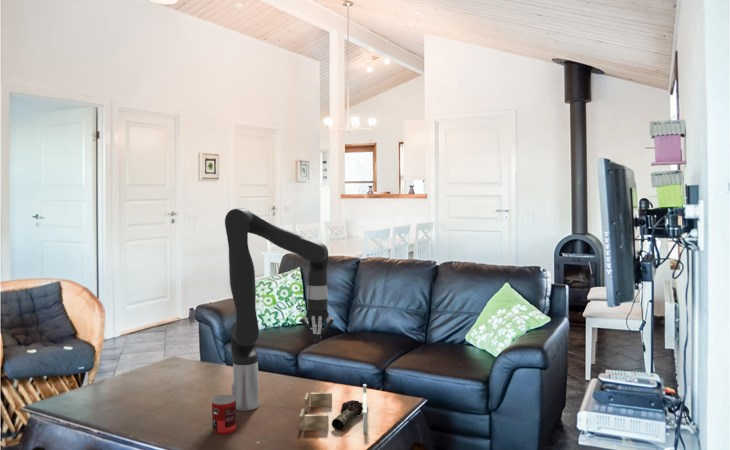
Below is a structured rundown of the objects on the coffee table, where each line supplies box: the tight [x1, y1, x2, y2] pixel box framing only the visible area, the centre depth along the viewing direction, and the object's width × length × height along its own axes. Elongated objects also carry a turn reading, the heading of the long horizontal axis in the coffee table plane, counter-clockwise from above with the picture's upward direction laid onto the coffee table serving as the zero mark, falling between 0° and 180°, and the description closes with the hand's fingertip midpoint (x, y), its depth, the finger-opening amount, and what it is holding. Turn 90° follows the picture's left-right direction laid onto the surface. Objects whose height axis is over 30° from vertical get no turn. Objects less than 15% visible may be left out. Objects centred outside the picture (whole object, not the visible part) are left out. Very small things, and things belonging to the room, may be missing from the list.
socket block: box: [299, 391, 333, 431], centre depth 197 cm, size 10×22×5 cm, turn 0°
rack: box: [362, 383, 368, 434], centre depth 197 cm, size 1×28×7 cm, turn 0°
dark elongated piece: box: [331, 399, 363, 432], centre depth 194 cm, size 18×7×6 cm, turn 156°
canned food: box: [211, 394, 237, 436], centre depth 187 cm, size 8×8×11 cm
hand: (317, 343), depth 203 cm, fingers closed
